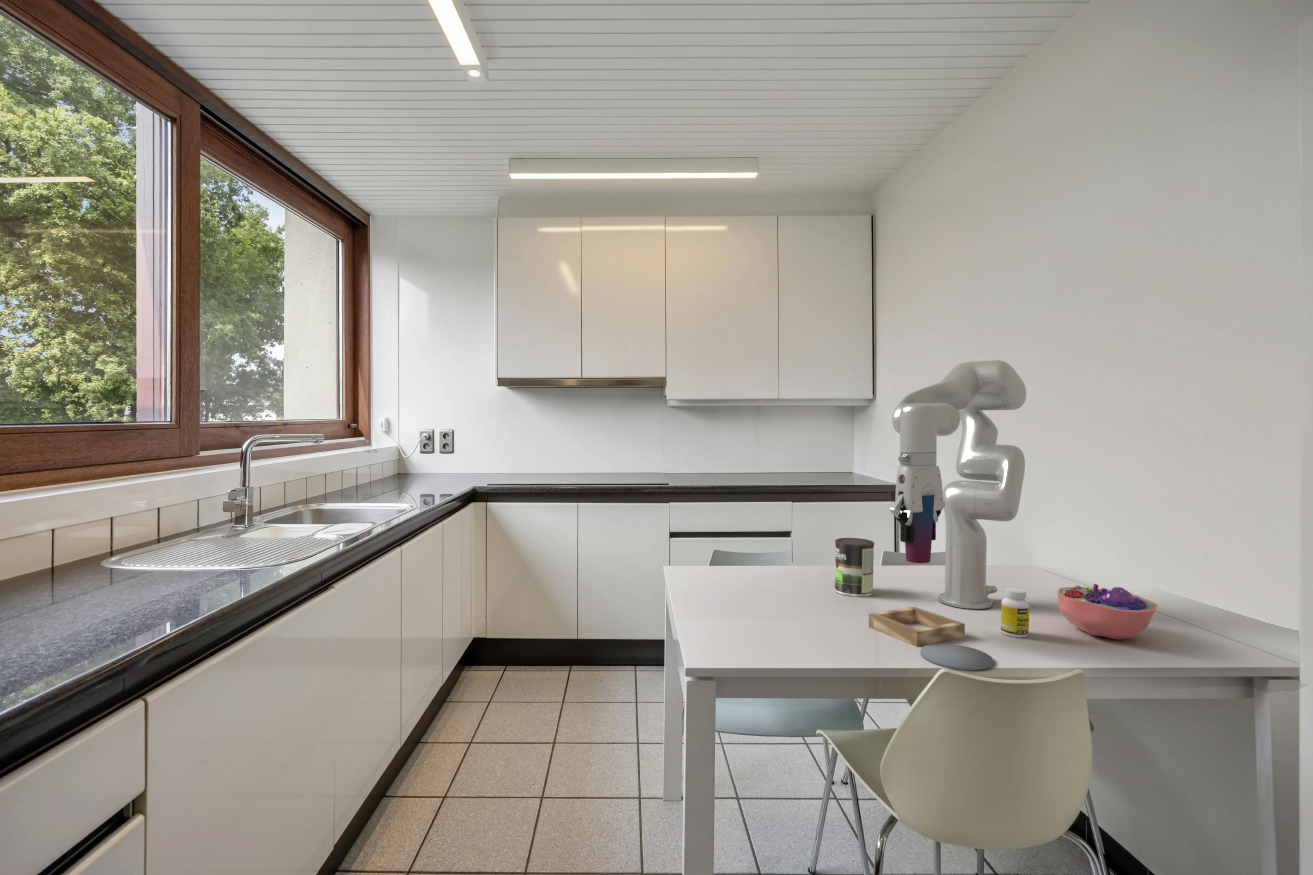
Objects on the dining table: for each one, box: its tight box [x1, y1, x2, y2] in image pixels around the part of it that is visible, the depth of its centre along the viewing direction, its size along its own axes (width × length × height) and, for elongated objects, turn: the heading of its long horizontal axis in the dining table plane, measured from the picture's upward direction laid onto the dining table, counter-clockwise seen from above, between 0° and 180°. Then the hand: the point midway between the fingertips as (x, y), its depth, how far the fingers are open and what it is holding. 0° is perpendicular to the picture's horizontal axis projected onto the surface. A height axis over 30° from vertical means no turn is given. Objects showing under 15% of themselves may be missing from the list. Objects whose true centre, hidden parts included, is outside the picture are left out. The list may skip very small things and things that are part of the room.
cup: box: [904, 495, 935, 564], centre depth 143 cm, size 7×7×15 cm
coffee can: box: [834, 537, 875, 598], centre depth 176 cm, size 10×10×14 cm
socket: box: [868, 606, 966, 647], centre depth 143 cm, size 14×14×3 cm
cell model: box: [1056, 583, 1159, 641], centre depth 142 cm, size 17×20×11 cm
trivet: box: [920, 643, 994, 672], centre depth 127 cm, size 13×13×1 cm
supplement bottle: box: [1000, 587, 1030, 639], centre depth 142 cm, size 5×5×10 cm
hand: (918, 539), depth 143 cm, fingers closed on cup, 6 cm apart
